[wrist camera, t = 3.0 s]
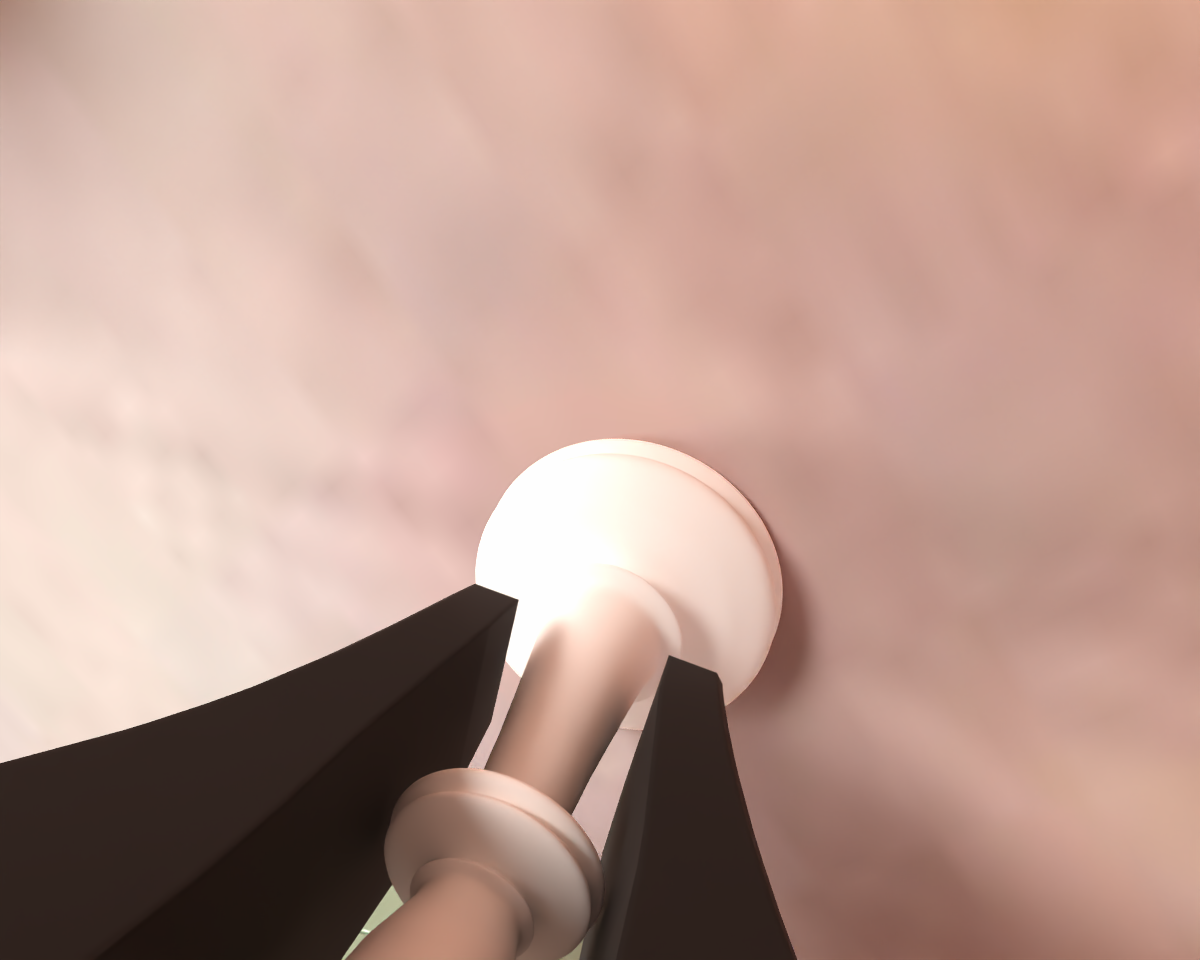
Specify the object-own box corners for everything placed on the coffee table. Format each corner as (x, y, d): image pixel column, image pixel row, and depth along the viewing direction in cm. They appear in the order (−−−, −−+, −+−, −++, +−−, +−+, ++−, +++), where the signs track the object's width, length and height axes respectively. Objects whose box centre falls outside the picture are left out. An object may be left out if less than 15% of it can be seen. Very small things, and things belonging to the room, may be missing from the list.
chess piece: (831, 667, 11) (945, 2553, 2) (568, 735, 13) (40, 1907, 4) (701, 386, 10) (-72, 1720, 1) (437, 502, 12) (-651, 1366, 3)
